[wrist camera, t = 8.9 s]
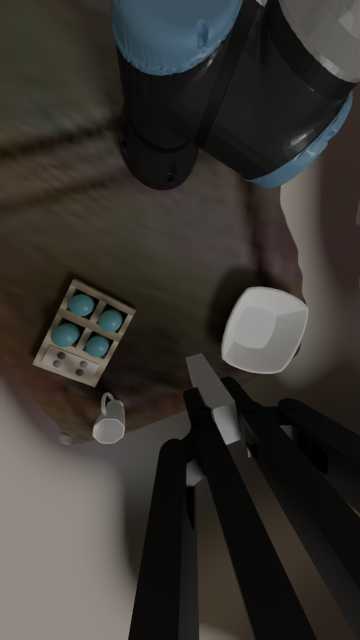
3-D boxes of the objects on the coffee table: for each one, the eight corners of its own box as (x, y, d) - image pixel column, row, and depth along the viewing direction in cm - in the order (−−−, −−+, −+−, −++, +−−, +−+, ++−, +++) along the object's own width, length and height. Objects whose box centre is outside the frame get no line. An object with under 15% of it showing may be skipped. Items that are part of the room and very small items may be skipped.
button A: (79, 290, 39) (74, 291, 36) (99, 299, 40) (95, 301, 37) (70, 307, 40) (64, 310, 37) (90, 316, 41) (86, 319, 38)
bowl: (233, 276, 45) (243, 276, 40) (300, 300, 50) (318, 303, 45) (205, 355, 49) (212, 364, 44) (271, 370, 54) (284, 379, 49)
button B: (107, 305, 39) (104, 307, 37) (125, 314, 41) (124, 317, 38) (98, 322, 40) (94, 326, 37) (116, 331, 41) (114, 335, 38)
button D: (95, 330, 42) (91, 335, 39) (113, 339, 43) (110, 343, 40) (86, 347, 42) (82, 352, 39) (104, 354, 43) (101, 360, 41)
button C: (62, 319, 38) (55, 322, 36) (83, 328, 40) (78, 332, 37) (54, 337, 39) (46, 341, 36) (74, 345, 40) (69, 350, 37)
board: (77, 279, 39) (72, 279, 37) (136, 309, 43) (135, 311, 40) (37, 360, 41) (30, 365, 39) (96, 382, 45) (94, 388, 43)
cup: (105, 421, 48) (97, 448, 40) (93, 389, 45) (82, 412, 38) (131, 413, 49) (128, 439, 41) (121, 381, 46) (116, 402, 39)
